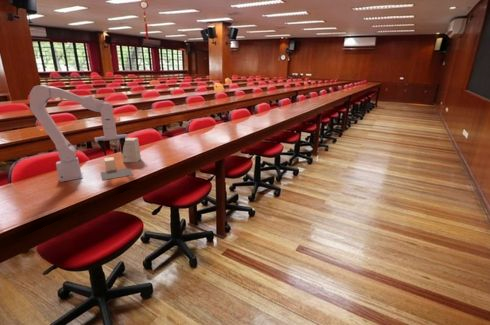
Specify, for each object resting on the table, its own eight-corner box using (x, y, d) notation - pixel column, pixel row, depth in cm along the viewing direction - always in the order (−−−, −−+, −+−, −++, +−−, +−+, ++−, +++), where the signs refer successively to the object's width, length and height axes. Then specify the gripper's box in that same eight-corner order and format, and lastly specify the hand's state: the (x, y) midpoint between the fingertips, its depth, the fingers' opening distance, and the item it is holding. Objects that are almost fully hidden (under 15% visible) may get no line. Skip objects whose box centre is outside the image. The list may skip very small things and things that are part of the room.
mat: (102, 180, 130) (102, 180, 130) (100, 172, 140) (100, 172, 139) (133, 175, 136) (133, 174, 136) (129, 167, 146) (129, 167, 146)
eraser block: (106, 171, 142) (104, 161, 140) (105, 167, 147) (104, 158, 145) (116, 169, 144) (114, 159, 142) (114, 166, 149) (113, 156, 147)
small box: (141, 159, 161) (138, 137, 156) (137, 162, 155) (134, 140, 150) (127, 159, 161) (124, 137, 157) (122, 162, 155) (119, 140, 151)
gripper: (124, 124, 141) (127, 149, 145) (92, 127, 134) (97, 153, 138) (126, 126, 135) (129, 153, 139) (93, 130, 128) (98, 157, 132)
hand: (113, 153), depth 138 cm, fingers open, 7 cm apart
